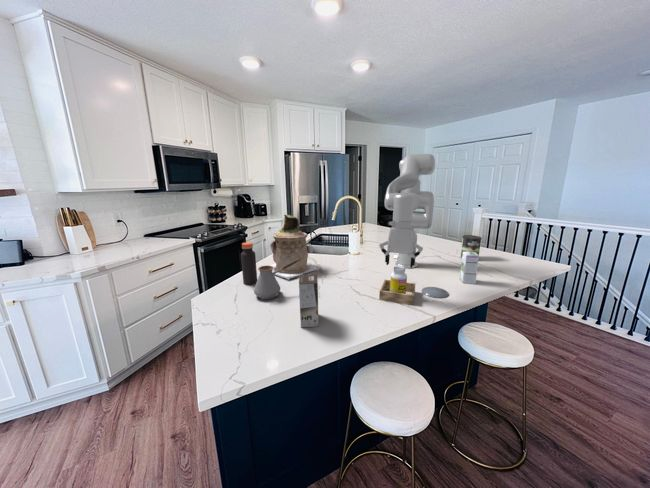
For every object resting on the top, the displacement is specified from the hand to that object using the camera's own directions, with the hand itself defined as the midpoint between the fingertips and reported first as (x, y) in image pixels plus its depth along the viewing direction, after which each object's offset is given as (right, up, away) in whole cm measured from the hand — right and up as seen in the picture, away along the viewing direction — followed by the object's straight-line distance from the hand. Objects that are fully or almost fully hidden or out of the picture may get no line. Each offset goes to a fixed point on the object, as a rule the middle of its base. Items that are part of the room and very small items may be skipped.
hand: (399, 265), depth 108 cm
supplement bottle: (0, -14, +4) cm, 14 cm away
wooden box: (0, -14, +4) cm, 14 cm away
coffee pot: (-52, -13, +7) cm, 54 cm away
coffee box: (-37, -19, -15) cm, 44 cm away
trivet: (+18, -13, +7) cm, 23 cm away
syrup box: (+39, -10, +18) cm, 44 cm away
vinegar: (-68, -10, +20) cm, 72 cm away
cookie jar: (-51, -6, +38) cm, 63 cm away
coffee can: (+60, 0, +54) cm, 81 cm away
